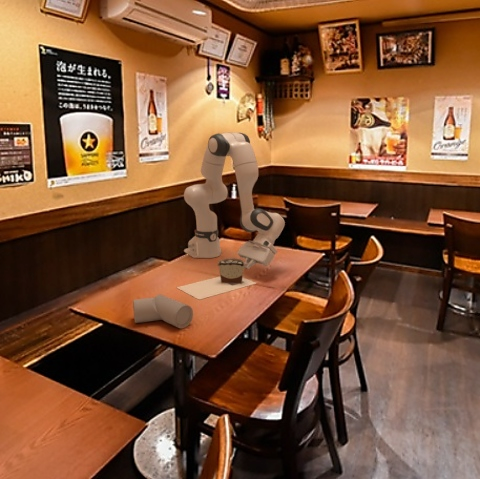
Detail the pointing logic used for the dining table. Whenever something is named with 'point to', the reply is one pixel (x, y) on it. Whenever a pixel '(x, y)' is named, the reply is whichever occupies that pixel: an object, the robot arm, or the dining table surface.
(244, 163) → the robot arm
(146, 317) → the l-shaped cylinder
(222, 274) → the food container
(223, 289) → the board
